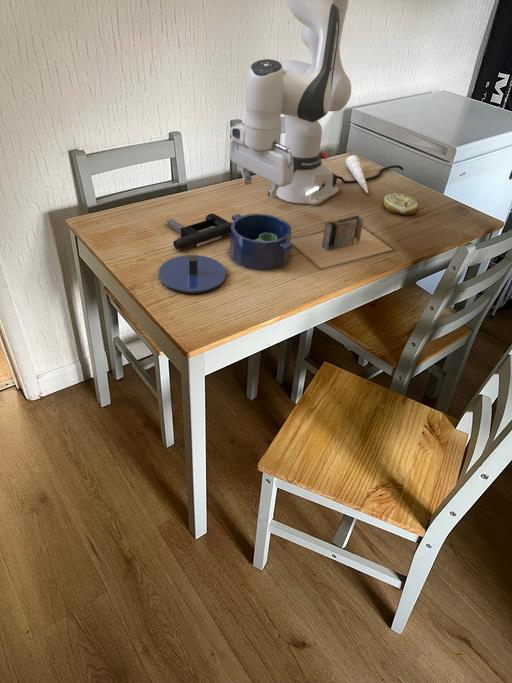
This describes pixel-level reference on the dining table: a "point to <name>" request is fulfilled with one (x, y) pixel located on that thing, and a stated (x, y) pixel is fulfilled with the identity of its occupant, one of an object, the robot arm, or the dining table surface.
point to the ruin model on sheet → (340, 242)
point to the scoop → (266, 237)
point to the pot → (259, 252)
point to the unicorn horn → (356, 171)
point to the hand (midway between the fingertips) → (259, 189)
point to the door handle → (196, 238)
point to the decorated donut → (400, 204)
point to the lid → (192, 273)
